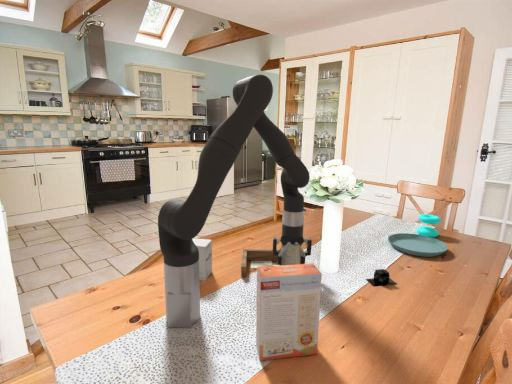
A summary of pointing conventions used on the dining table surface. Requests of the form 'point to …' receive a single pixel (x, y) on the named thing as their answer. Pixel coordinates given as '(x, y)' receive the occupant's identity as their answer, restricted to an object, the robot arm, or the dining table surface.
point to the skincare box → (291, 255)
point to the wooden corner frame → (256, 255)
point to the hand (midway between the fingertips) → (291, 265)
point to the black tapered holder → (381, 278)
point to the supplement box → (204, 257)
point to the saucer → (417, 244)
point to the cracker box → (287, 310)
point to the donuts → (428, 230)
